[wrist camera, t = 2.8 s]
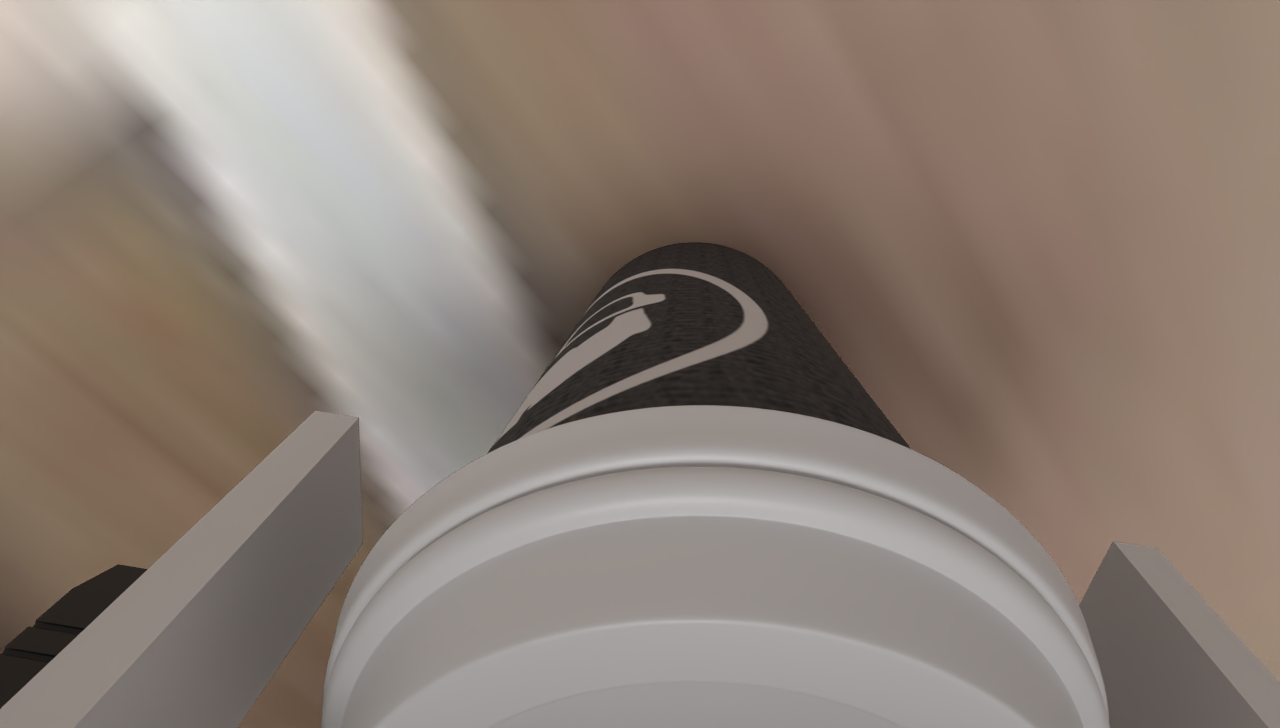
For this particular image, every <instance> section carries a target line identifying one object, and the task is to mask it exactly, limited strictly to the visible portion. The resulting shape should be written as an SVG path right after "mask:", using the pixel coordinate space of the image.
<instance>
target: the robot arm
mask: <svg viewBox="0 0 1280 728" xmlns="http://www.w3.org/2000/svg"><path fill="white" fill-rule="evenodd" d="M361 545H362V510H361V475H360V440H359V418H358V417H352V416H346V415H339V414H333V413H327V412H321V411H315V412H313V413H312V414H311V415H310V416H309V417H308V418H307V419H306V420H305V421H304V422H303V423H302V424H301V425H300V426H299V427H298V428H297V429H295V430H294V431H293V432H292V433H291V434H290V435H289V436H288V437H287V438H286V439H285V440H284V441H283V442H282V443H281V444H280V445H279V446H278V447H276V448H275V449H274V450H273V451H272V452H271V453H270V454H269V455H268V456H267V457H266V458H265V459H264V460H263V461H262V462H261V463H260V464H259V465H257V466H256V467H255V468H254V469H253V470H252V471H251V472H250V473H249V474H248V475H247V476H246V477H245V478H244V479H243V480H242V481H241V482H240V483H238V484H237V485H236V486H235V487H234V488H233V489H232V490H231V491H230V492H229V493H228V494H227V495H226V496H225V497H224V498H223V499H222V500H220V501H219V502H218V503H217V504H216V505H215V506H214V507H213V508H212V509H211V510H210V511H209V512H208V513H207V514H206V515H205V516H204V517H203V518H201V519H200V520H199V521H198V522H197V523H196V524H195V525H194V526H193V527H192V528H191V529H190V530H189V531H188V532H187V533H186V534H185V535H184V536H182V537H181V538H180V539H179V540H178V541H177V542H176V543H175V544H174V545H173V546H172V547H171V548H170V549H169V550H168V551H167V552H166V553H164V554H163V555H162V556H161V557H160V558H159V559H158V560H157V561H156V562H155V563H154V564H153V565H152V566H151V567H150V568H149V569H142V568H136V567H130V566H125V565H119V564H118V565H116V566H115V567H113V568H111V569H109V570H107V571H105V572H103V573H101V574H99V575H97V576H96V577H94V578H92V579H90V580H88V581H86V582H84V583H82V584H80V585H79V586H77V587H75V588H73V589H72V590H70V591H69V592H68V593H67V594H66V595H65V596H63V597H62V598H61V599H60V600H59V601H58V602H57V603H55V604H54V605H53V606H52V607H51V608H50V609H48V610H47V611H46V612H45V613H44V614H43V615H41V616H40V617H39V618H38V619H37V620H36V623H35V625H34V626H33V627H28V628H26V629H25V630H24V631H23V632H22V633H21V634H19V635H18V636H17V637H16V638H15V639H14V640H13V641H11V642H10V643H9V644H8V645H7V646H6V647H5V650H4V652H3V653H2V654H1V655H0V728H238V726H239V725H240V723H241V722H242V721H243V719H244V718H245V716H246V715H247V713H248V712H249V710H250V709H251V707H252V706H253V704H254V703H255V701H256V700H257V698H258V697H259V696H260V694H261V693H262V691H263V690H264V688H265V687H266V685H267V684H268V682H269V681H270V679H271V678H272V676H273V675H274V673H275V672H276V670H277V669H278V668H279V666H280V665H281V663H282V662H283V660H284V659H285V657H286V656H287V654H288V653H289V651H290V650H291V648H292V647H293V645H294V644H295V642H296V641H297V640H298V638H299V637H300V635H301V634H302V632H303V631H304V629H305V628H306V626H307V625H308V623H309V622H310V620H311V619H312V617H313V616H314V615H315V613H316V612H317V610H318V609H319V607H320V606H321V604H322V603H323V601H324V600H325V598H326V597H327V595H328V594H329V592H330V591H331V589H332V588H333V587H334V585H335V584H336V582H337V581H338V579H339V578H340V576H341V575H342V573H343V572H344V570H345V569H346V567H347V566H348V564H349V563H350V562H351V560H352V559H353V557H354V556H355V554H356V553H357V551H358V550H359V548H360V547H361ZM1079 607H1080V609H1081V612H1082V614H1083V617H1084V619H1085V622H1086V625H1087V628H1088V631H1089V634H1090V637H1091V640H1092V644H1093V647H1094V650H1095V653H1096V656H1097V659H1098V663H1099V666H1100V670H1101V674H1102V677H1103V681H1104V686H1105V691H1106V696H1107V703H1108V711H1109V725H1110V728H1280V682H1279V681H1278V680H1277V679H1276V678H1275V677H1274V676H1273V675H1272V674H1271V672H1270V671H1269V670H1268V669H1267V668H1266V667H1265V666H1264V665H1263V664H1262V663H1261V662H1260V660H1259V659H1258V658H1257V657H1256V656H1255V655H1254V654H1253V653H1252V652H1251V651H1250V649H1249V648H1248V647H1247V646H1246V645H1245V644H1244V643H1243V642H1242V641H1241V640H1240V638H1239V637H1238V636H1237V635H1236V634H1235V633H1234V632H1233V631H1232V630H1231V629H1230V627H1229V626H1228V625H1227V624H1226V623H1225V622H1224V621H1223V620H1222V619H1221V618H1220V616H1219V615H1218V614H1217V613H1216V612H1215V611H1214V610H1213V609H1212V608H1211V607H1210V605H1209V604H1208V603H1207V602H1206V601H1205V600H1204V599H1203V598H1202V597H1201V596H1200V594H1199V593H1198V592H1197V591H1196V590H1195V589H1194V588H1193V587H1192V586H1191V585H1190V583H1189V582H1188V581H1187V580H1186V579H1185V578H1184V577H1183V576H1182V575H1181V574H1180V572H1179V571H1178V570H1177V569H1176V568H1175V567H1174V566H1173V565H1172V564H1171V563H1170V561H1169V560H1168V559H1167V558H1166V557H1165V556H1164V555H1163V554H1162V553H1161V552H1160V550H1159V549H1158V548H1152V547H1146V546H1140V545H1134V544H1128V543H1122V542H1115V541H1113V542H1112V544H1111V546H1110V548H1109V550H1108V551H1107V553H1106V555H1105V557H1104V559H1103V561H1102V563H1101V565H1100V567H1099V569H1098V571H1097V572H1096V574H1095V576H1094V578H1093V580H1092V582H1091V584H1090V586H1089V588H1088V590H1087V591H1086V593H1085V595H1084V597H1083V599H1082V601H1081V603H1080V605H1079Z"/></svg>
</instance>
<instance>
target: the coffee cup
mask: <svg viewBox="0 0 1280 728" xmlns="http://www.w3.org/2000/svg"><path fill="white" fill-rule="evenodd" d="M321 728H1110V725H1109V711H1108V703H1107V696H1106V691H1105V686H1104V681H1103V677H1102V674H1101V670H1100V666H1099V663H1098V659H1097V656H1096V653H1095V650H1094V647H1093V644H1092V640H1091V637H1090V634H1089V631H1088V628H1087V625H1086V622H1085V619H1084V617H1083V614H1082V612H1081V609H1080V607H1079V604H1078V602H1077V600H1076V598H1075V596H1074V594H1073V592H1072V590H1071V588H1070V587H1069V585H1068V583H1067V581H1066V579H1065V578H1064V576H1063V575H1062V573H1061V572H1060V570H1059V568H1058V567H1057V565H1056V564H1055V563H1054V561H1053V560H1052V559H1051V557H1050V556H1049V554H1048V553H1047V552H1046V551H1045V549H1044V548H1043V547H1042V546H1041V544H1040V543H1039V542H1038V541H1037V540H1036V539H1035V538H1034V536H1033V535H1032V534H1031V533H1030V532H1029V531H1028V530H1027V529H1026V528H1025V527H1024V526H1023V525H1022V524H1021V523H1020V522H1019V521H1018V520H1017V519H1016V518H1015V517H1014V516H1013V515H1012V514H1011V513H1009V512H1008V511H1007V510H1006V509H1005V508H1004V507H1003V506H1002V505H1000V504H999V503H998V502H997V501H995V500H994V499H993V498H992V497H990V496H989V495H988V494H986V493H985V492H984V491H982V490H981V489H979V488H978V487H977V486H975V485H974V484H972V483H971V482H969V481H968V480H966V479H965V478H963V477H962V476H960V475H959V474H957V473H955V472H953V471H952V470H950V469H948V468H947V467H945V466H943V465H941V464H940V463H938V462H936V461H934V460H932V459H930V458H928V457H926V456H924V455H922V454H920V453H918V452H916V451H914V450H912V449H911V448H910V447H909V446H908V444H907V443H906V442H905V440H904V439H903V438H902V437H901V435H900V434H899V433H898V432H897V430H896V429H895V428H894V426H893V425H892V424H891V423H890V421H889V420H888V419H887V418H886V416H885V415H884V414H883V412H882V411H881V410H880V409H879V407H878V406H877V405H876V403H875V402H874V401H873V400H872V398H871V397H870V396H869V394H868V393H867V392H866V391H865V389H864V388H863V387H862V385H861V384H860V383H859V382H858V380H857V379H856V378H855V376H854V375H853V374H852V373H851V371H850V370H849V369H848V367H847V366H846V365H845V363H844V362H843V361H842V360H841V358H840V357H839V356H838V354H837V353H836V352H835V351H834V349H833V348H832V347H831V345H830V344H829V343H828V341H827V340H826V339H825V338H824V336H823V335H822V334H821V332H820V331H819V330H818V328H817V327H816V326H815V325H814V323H813V322H812V321H811V319H810V318H809V317H808V315H807V314H806V313H805V312H804V310H803V309H802V308H801V306H800V305H799V304H798V302H797V301H796V300H795V298H794V297H793V296H792V295H791V293H790V292H789V291H788V289H787V288H786V287H785V286H784V284H783V283H782V282H781V281H780V280H779V279H778V278H777V277H776V276H775V275H774V274H773V273H772V272H771V271H770V270H769V269H768V268H766V267H765V266H764V265H763V264H761V263H760V262H758V261H757V260H755V259H753V258H752V257H750V256H748V255H746V254H744V253H742V252H739V251H737V250H734V249H731V248H728V247H724V246H720V245H715V244H708V243H682V244H675V245H669V246H665V247H661V248H658V249H655V250H652V251H650V252H647V253H645V254H643V255H641V256H639V257H637V258H636V259H634V260H632V261H631V262H629V263H628V264H626V265H625V266H624V267H622V268H621V269H620V270H619V271H618V272H617V273H615V274H614V275H613V276H612V277H611V278H610V280H609V281H608V282H607V283H606V284H605V285H604V287H603V288H602V289H601V291H600V292H599V293H598V295H597V296H596V298H595V299H594V301H593V302H592V304H591V305H590V307H589V308H588V309H587V311H586V312H585V314H584V315H583V317H582V318H581V320H580V321H579V323H578V324H577V325H576V327H575V328H574V330H573V331H572V333H571V334H570V336H569V337H568V339H567V340H566V341H565V343H564V344H563V346H562V347H561V349H560V350H559V352H558V353H557V354H556V356H555V357H554V359H553V360H552V362H551V363H550V365H549V366H548V367H547V369H546V370H545V372H544V373H543V375H542V376H541V378H540V379H539V380H538V382H537V383H536V385H535V386H534V388H533V389H532V391H531V392H530V393H529V395H528V396H527V398H526V399H525V401H524V402H523V403H522V405H521V406H520V408H519V409H518V411H517V412H516V414H515V415H514V416H513V418H512V419H511V421H510V422H509V424H508V425H507V426H506V428H505V429H504V431H503V432H502V433H501V435H500V436H499V438H498V439H497V441H496V442H495V443H494V445H493V446H492V448H491V449H490V450H489V452H488V453H487V454H485V455H484V456H482V457H480V458H478V459H476V460H474V461H472V462H471V463H469V464H467V465H466V466H464V467H462V468H461V469H459V470H457V471H456V472H454V473H453V474H451V475H450V476H448V477H447V478H445V479H444V480H442V481H441V482H439V483H438V484H437V485H435V486H434V487H433V488H431V489H430V490H429V491H427V492H426V493H425V494H424V495H423V496H421V497H420V498H419V499H418V500H417V501H415V502H414V503H413V504H412V505H411V506H410V507H409V508H408V509H407V510H406V511H405V512H404V513H403V514H402V515H401V516H400V517H399V518H398V519H397V520H396V521H395V522H394V523H393V524H392V525H391V526H390V527H389V528H388V530H387V531H386V532H385V533H384V534H383V536H382V537H381V538H380V539H379V541H378V542H377V543H376V545H375V546H374V547H373V549H372V550H371V552H370V553H369V554H368V556H367V558H366V559H365V561H364V562H363V564H362V566H361V567H360V569H359V571H358V573H357V575H356V576H355V578H354V580H353V583H352V585H351V587H350V589H349V591H348V594H347V596H346V599H345V601H344V604H343V607H342V610H341V613H340V616H339V620H338V624H337V628H336V632H335V637H334V641H333V645H332V649H331V653H330V656H329V660H328V665H327V670H326V675H325V682H324V691H323V711H322V721H321Z"/></svg>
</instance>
